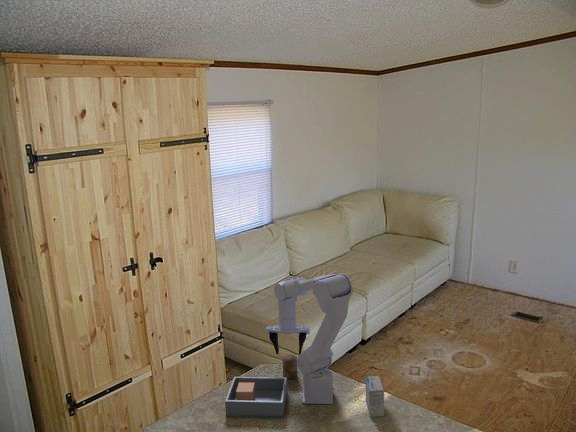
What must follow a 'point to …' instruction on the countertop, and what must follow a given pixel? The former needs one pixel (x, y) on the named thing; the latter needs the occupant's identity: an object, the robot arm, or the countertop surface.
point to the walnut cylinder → (289, 367)
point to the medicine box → (374, 396)
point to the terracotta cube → (245, 391)
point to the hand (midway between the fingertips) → (288, 352)
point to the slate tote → (258, 398)
